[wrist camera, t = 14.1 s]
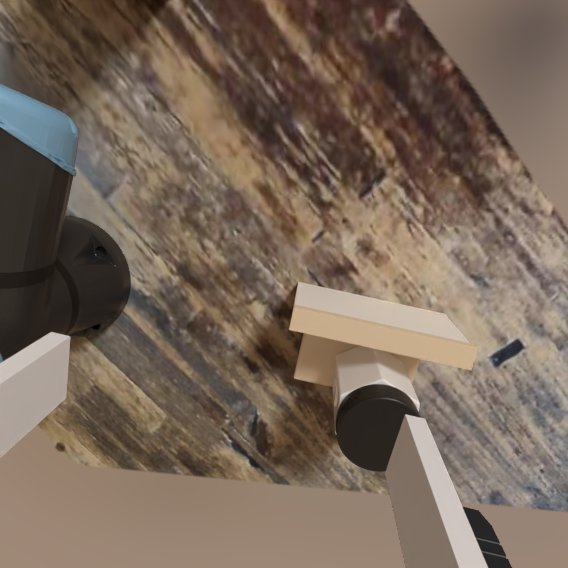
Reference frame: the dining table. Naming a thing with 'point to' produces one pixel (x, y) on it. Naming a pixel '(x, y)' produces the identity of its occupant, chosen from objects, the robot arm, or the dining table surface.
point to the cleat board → (370, 332)
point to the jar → (370, 405)
